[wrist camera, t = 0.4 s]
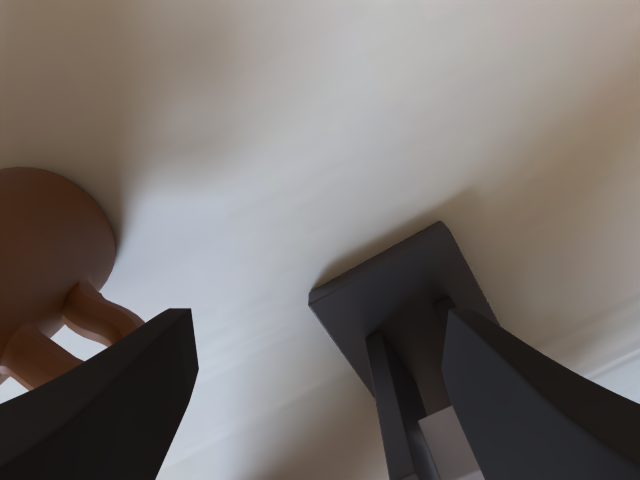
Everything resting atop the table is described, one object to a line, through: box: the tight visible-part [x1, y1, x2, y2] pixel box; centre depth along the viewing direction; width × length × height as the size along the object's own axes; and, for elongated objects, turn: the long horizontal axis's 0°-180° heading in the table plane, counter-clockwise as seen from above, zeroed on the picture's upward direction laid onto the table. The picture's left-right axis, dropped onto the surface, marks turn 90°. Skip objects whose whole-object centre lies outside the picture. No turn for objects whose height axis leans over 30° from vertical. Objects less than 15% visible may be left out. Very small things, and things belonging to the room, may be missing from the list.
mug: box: [0, 167, 145, 391], centre depth 17 cm, size 12×8×9 cm, turn 68°
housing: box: [308, 221, 501, 480], centre depth 18 cm, size 11×8×10 cm
